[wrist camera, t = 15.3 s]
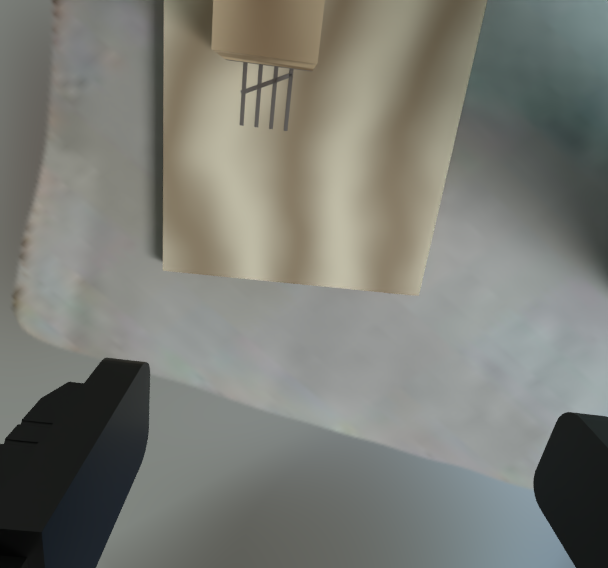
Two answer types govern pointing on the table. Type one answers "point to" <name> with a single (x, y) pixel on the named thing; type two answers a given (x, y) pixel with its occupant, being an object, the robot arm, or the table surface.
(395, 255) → the board
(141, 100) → the table surface
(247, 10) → the block
